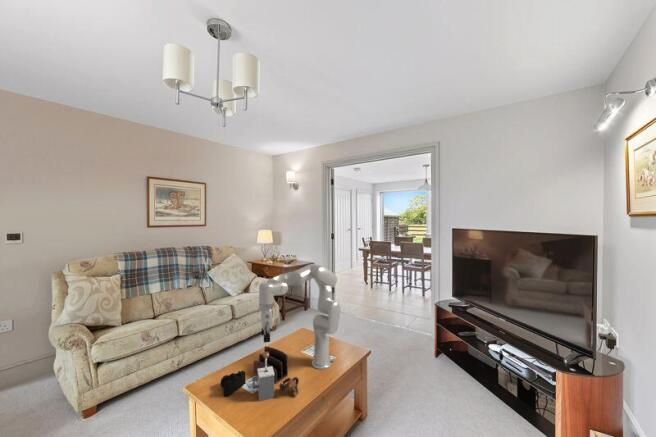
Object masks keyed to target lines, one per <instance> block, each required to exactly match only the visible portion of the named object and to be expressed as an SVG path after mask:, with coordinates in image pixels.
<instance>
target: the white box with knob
mask: <svg viewBox="0 0 656 437" xmlns="http://www.w3.org/2000/svg"><path fill="white" fill-rule="evenodd" d="M257 371H258V375H254V376H252V390H256V389H257V397H258V402H262V401H268V400H272V399H275V383H274V375H275V374H274V370H273V367H272V366H271V367H267V371H268V372H265V368H259V369H257ZM264 372H265V373H264ZM255 380H257V384H256V381H255Z"/></svg>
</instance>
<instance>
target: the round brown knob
mask: <svg viewBox="0 0 656 437" xmlns="http://www.w3.org/2000/svg"><path fill="white" fill-rule="evenodd" d="M262 354H263V358H265V372H268V371H267V358H268V357H269V352H264V351H263V353H262ZM265 372H264V373H265Z"/></svg>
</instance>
